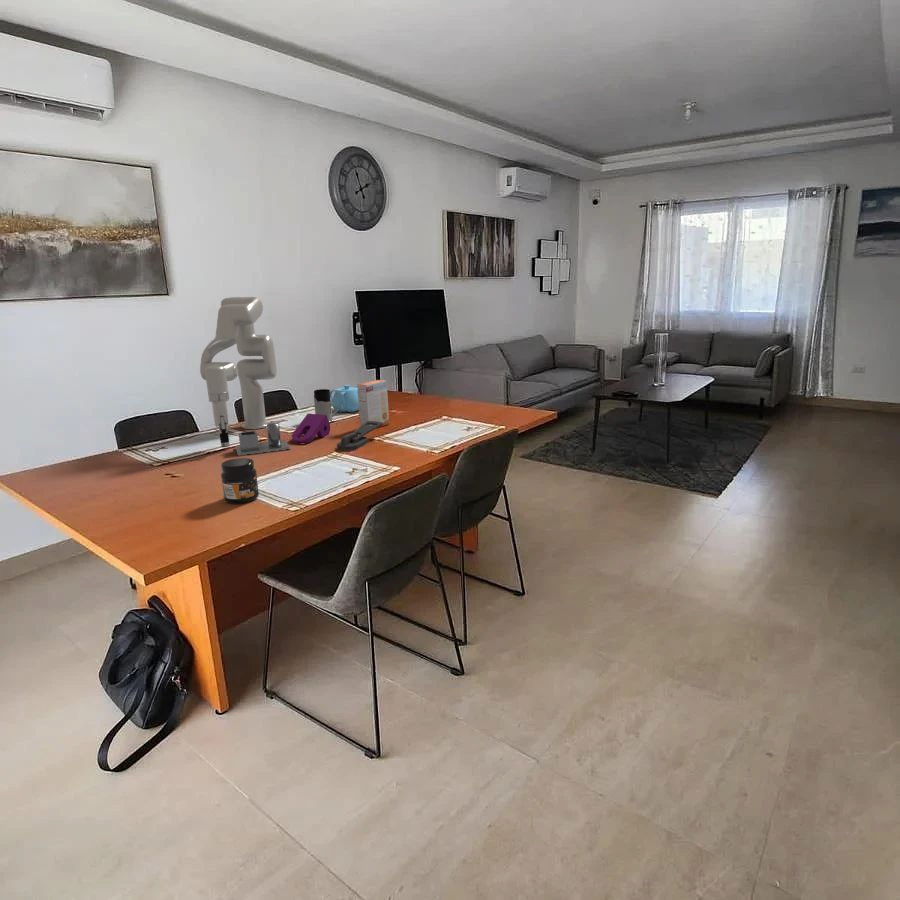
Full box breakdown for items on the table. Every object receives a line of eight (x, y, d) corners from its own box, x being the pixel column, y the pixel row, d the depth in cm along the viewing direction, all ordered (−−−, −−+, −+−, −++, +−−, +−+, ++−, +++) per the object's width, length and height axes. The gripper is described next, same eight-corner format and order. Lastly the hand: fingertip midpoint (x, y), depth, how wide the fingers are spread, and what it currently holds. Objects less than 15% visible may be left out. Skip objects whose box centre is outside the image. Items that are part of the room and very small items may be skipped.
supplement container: (225, 507, 180) (220, 469, 177) (223, 496, 189) (218, 460, 186) (261, 501, 184) (257, 464, 181) (257, 491, 193) (253, 455, 190)
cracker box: (380, 423, 283) (377, 379, 277) (389, 424, 280) (387, 380, 274) (359, 429, 272) (356, 383, 267) (369, 430, 269) (366, 384, 263)
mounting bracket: (313, 456, 252) (332, 429, 264) (306, 441, 246) (326, 414, 259) (294, 454, 255) (313, 428, 267) (287, 439, 249) (307, 413, 262)
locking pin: (221, 445, 243) (217, 421, 240) (229, 444, 244) (226, 421, 241) (221, 447, 240) (218, 423, 237) (229, 446, 242) (226, 422, 239)
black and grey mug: (316, 419, 293) (313, 389, 289) (345, 418, 294) (343, 388, 290) (314, 423, 284) (311, 392, 280) (344, 422, 286) (342, 391, 282)
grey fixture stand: (235, 448, 244) (232, 424, 241) (285, 442, 251) (283, 419, 248) (238, 456, 233) (235, 431, 230) (290, 449, 241) (287, 425, 238)
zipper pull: (384, 422, 256) (351, 435, 235) (385, 437, 258) (352, 451, 236) (367, 420, 260) (332, 433, 238) (367, 435, 262) (333, 449, 240)
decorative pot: (338, 415, 301) (336, 389, 297) (328, 409, 315) (326, 384, 311) (368, 411, 308) (367, 385, 305) (357, 406, 322) (356, 381, 318)
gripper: (207, 393, 242) (213, 437, 248) (209, 401, 228) (216, 447, 233) (227, 392, 245) (232, 435, 250) (230, 399, 231) (236, 445, 236)
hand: (224, 440), depth 242 cm, fingers closed on locking pin, 3 cm apart
